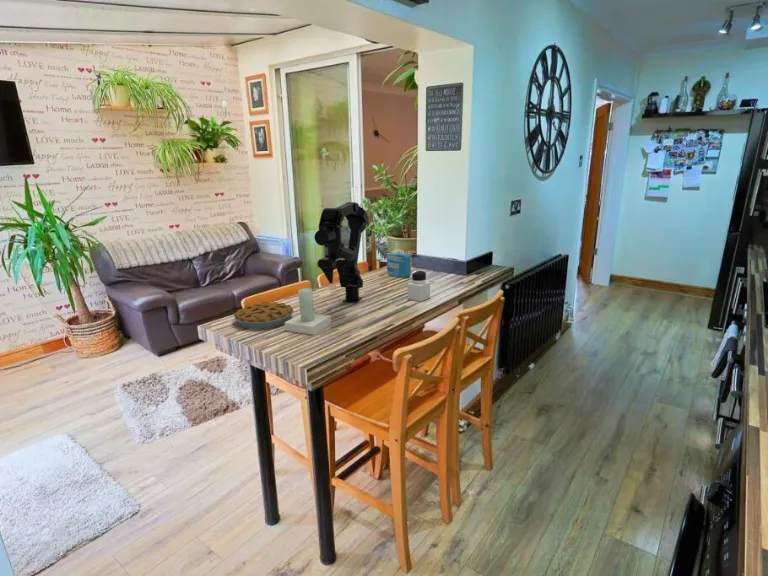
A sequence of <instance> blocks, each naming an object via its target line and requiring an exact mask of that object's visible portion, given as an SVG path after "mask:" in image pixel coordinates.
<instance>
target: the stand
mask: <svg viewBox="0 0 768 576" xmlns="http://www.w3.org/2000/svg"><path fill="white" fill-rule="evenodd" d="M314 314H315V319H314V320H312V321H302V320H301V314H298V315H296V316H294V317H291V318H290V320H288V321H287V322H285V323H284V330H285V331H287V332H292V333H294V332H295V333H298V334H299V333H300V334H306V335H312V336H313V335H315V334H317V333H319V332H321V330H324V329H325V328H326V327H328V326H329V325H331V324H332V316H331V315H327V314H326V315H325V314H319V313H314Z"/></svg>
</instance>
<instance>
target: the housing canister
mask: <svg viewBox="0 0 768 576" xmlns="http://www.w3.org/2000/svg"><path fill="white" fill-rule="evenodd" d="M297 293H298V303H299V304H298V305H299V312H300V314H301V320H302V321H312V320H314V319H315V314H316V313H315V307H314V296H313V288H309V287H307V288H305V287H303V288H300V289H298V290H297Z"/></svg>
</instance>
